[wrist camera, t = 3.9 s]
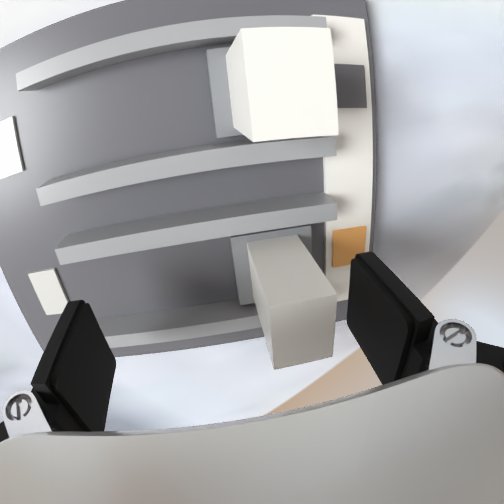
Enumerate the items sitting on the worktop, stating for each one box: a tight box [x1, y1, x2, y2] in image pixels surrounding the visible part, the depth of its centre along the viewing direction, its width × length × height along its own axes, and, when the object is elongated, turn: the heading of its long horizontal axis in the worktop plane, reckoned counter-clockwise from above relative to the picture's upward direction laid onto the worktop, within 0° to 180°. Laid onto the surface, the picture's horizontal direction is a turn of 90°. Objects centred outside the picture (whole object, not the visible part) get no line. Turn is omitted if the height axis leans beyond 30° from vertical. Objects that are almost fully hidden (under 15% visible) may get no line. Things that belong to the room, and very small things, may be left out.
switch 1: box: [206, 27, 339, 142], centre depth 8 cm, size 3×3×5 cm
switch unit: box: [0, 0, 376, 357], centre depth 12 cm, size 18×16×2 cm
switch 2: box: [230, 224, 337, 369], centre depth 12 cm, size 3×3×5 cm
